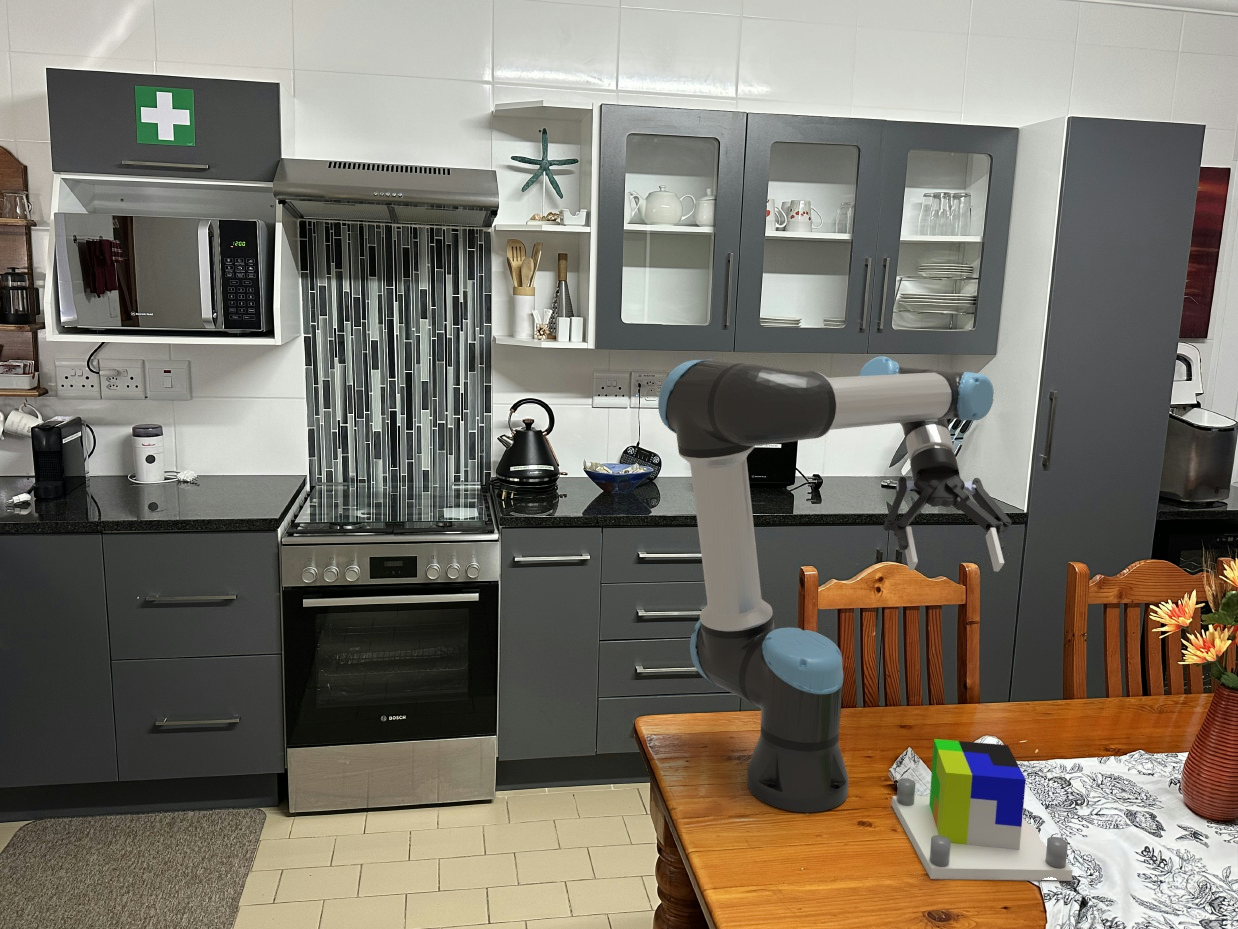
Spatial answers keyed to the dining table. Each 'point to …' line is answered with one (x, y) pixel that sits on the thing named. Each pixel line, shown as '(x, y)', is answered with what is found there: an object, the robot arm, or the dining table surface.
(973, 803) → the puzzle toy
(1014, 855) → the stub base
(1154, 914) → the dining table surface
